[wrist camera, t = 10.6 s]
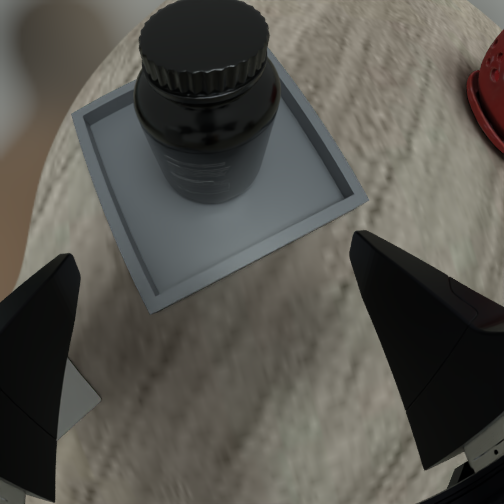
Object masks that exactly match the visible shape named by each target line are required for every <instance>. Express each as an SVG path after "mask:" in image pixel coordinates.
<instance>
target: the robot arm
mask: <svg viewBox="0 0 504 504" xmlns="http://www.w3.org/2000/svg"><path fill="white" fill-rule="evenodd" d="M349 257H350V261H351V264H352V267H353V270H354V274H355V277H356V280H357V283H358V286H359V290H360V293H361V296H362V299H363V301H364V304H365V306H366V308H367V311H368V313H369V315H370V318H371V320H372V323H373V325H374V328H375V330H376V332H377V335H378V337H379V340H380V342H381V345H382V348H383V350H384V353H385V355H386V358H387V360H388V363H389V366H390V368H391V371H392V374H393V377H394V379H395V382H396V385H397V388H398V390H399V393H400V396H401V399H402V402H403V405H404V408H405V410H406V414H407V417H408V420H409V423H410V426H411V429H412V432H413V436H414V439H415V442H416V445H417V449H418V452H419V455H420V459H421V462H422V465H423V468H424V470H428V469H430V468H432V467H434V466H436V465H438V464H440V463H443V462H445V461H447V460H449V459H451V458H453V457H455V456H456V455H458V454H460V453H462V452H465V455H466V457H467V460H468V461H467V462H465V463H464V464H462V465H460V466H459V467H457V468H456V469H455V470H454V472H453V475H452V477H451V480H450V482H449V485H448V487H447V489H446V490H444V491H442V492H440V493H438V494H436V495H434V496H432V497H430V498H428V499H426V500H423V501H421V502H419V503H417V504H504V307H503V306H501V305H499V304H497V303H496V302H494V301H492V300H490V299H488V298H486V297H485V296H483V295H481V294H479V293H477V292H475V291H474V290H472V289H470V288H468V287H467V286H465V285H463V284H461V283H460V282H458V281H456V280H455V279H453V278H451V277H448V275H446V274H445V273H443V272H441V271H439V270H438V269H436V268H434V267H433V266H431V265H429V264H427V263H426V262H424V261H422V260H420V259H419V258H417V257H415V256H413V255H411V254H410V253H408V252H406V251H404V250H402V249H401V248H399V247H397V246H395V245H393V244H391V243H390V242H388V241H386V240H384V239H382V238H380V237H378V236H377V235H375V234H373V233H371V232H369V231H367V230H361V231H355V232H354V234H353V237H352V242H351V247H350V252H349ZM80 280H81V277H80V272H79V270H78V267H77V265H76V262H75V259H74V257H73V255H72V254H70V253H66V254H60V255H58V256H57V257H56V258H54V259H53V260H52V261H50V262H49V263H48V264H46V265H45V266H44V267H43V268H41V269H40V270H39V271H37V272H36V273H35V274H34V275H32V276H31V277H30V278H29V279H28V280H26V281H25V282H24V283H23V284H21V285H20V286H19V287H18V288H17V289H15V290H14V291H13V292H12V293H11V294H10V295H8V296H7V297H6V298H5V299H4V300H3V301H1V302H0V504H25V498H26V495H29V496H33V497H36V498H39V499H43V500H46V501H50V502H54V503H55V472H56V448H57V432H58V421H59V411H60V403H61V395H62V388H63V381H64V374H65V368H66V362H67V357H68V351H69V346H70V341H71V336H72V332H73V327H74V322H75V316H76V309H77V301H78V294H79V287H80Z"/></svg>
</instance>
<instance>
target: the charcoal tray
mask: <svg viewBox="0 0 504 504" xmlns="http://www.w3.org/2000/svg"><path fill="white" fill-rule="evenodd" d="M267 56H268V57H269V59H270V60H271V61H272V63H273V64H274V66H275V68H276V70H277V72H278V75H279V78H280V83H281V98H280V103H279V107H278V111H277V114H276V118H275V121H274V124H273V128H272V131H271V134H270V138H269V141H268V145H267V148H266V151H265V155H264V158H263V161H262V164H261V167H260V170H259V173H258V175H257V177H256V178H255V180H254V181H253V183H252V184H251V185H250V186H249V187H248V188H247V189H246V190H245V191H244V192H242V193H241V194H239V195H238V196H236V197H234V198H232V199H229V200H226V201H223V202H217V203H202V202H197V201H193V200H190V199H188V198H186V197H184V196H182V195H181V194H179V193H178V192H177V191H175V190H174V189H173V188H172V187H171V185H170V184H169V183H168V181H167V180H166V178H165V176H164V174H163V173H162V170H161V168H160V166H159V164H158V162H157V160H156V158H155V156H154V154H153V151H152V149H151V147H150V145H149V143H148V141H147V139H146V136H145V134H144V132H143V130H142V128H141V125H140V123H139V120H138V118H137V116H136V112H135V109H134V104H133V92H134V86H135V82H136V80H137V79H136V80H134V81H132V82H130V83H128V84H126V85H124V86H122V87H120V88H118V89H116V90H114V91H112V92H110V93H108V94H106V95H104V96H102V97H100V98H98V99H97V100H95V101H93V102H91V103H89V104H88V105H86V106H84V107H82V108H81V109H79V110H77V111H75V112H74V113H72V114H71V115H72V118H73V122H74V125H75V129H76V132H77V136H78V139H79V142H80V145H81V148H82V152H83V155H84V158H85V161H86V164H87V167H88V170H89V173H90V175H91V178H92V181H93V184H94V187H95V190H96V192H97V195H98V198H99V200H100V203H101V206H102V208H103V211H104V213H105V216H106V218H107V221H108V223H109V226H110V228H111V231H112V233H113V236H114V238H115V240H116V243H117V245H118V247H119V250H120V252H121V254H122V257H123V259H124V261H125V263H126V266H127V268H128V270H129V272H130V274H131V277H132V279H133V281H134V283H135V285H136V287H137V289H138V291H139V294H140V296H141V298H142V300H143V302H144V304H145V306H146V308H147V310H148V312H149V314H153V313H156V312H159V311H161V310H163V309H164V308H166V307H168V306H170V305H172V304H174V303H176V302H178V301H180V300H182V299H184V298H186V297H188V296H190V295H192V294H194V293H196V292H198V291H200V290H201V289H203V288H205V287H207V286H209V285H211V284H213V283H215V282H217V281H219V280H221V279H223V278H225V277H227V276H229V275H230V274H232V273H234V272H236V271H238V270H240V269H242V268H244V267H246V266H248V265H250V264H252V263H254V262H255V261H257V260H259V259H261V258H263V257H265V256H267V255H269V254H271V253H273V252H275V251H276V250H278V249H280V248H282V247H284V246H286V245H288V244H290V243H292V242H294V241H296V240H297V239H299V238H301V237H303V236H305V235H307V234H309V233H311V232H313V231H314V230H316V229H318V228H320V227H322V226H324V225H326V224H328V223H330V222H332V221H333V220H335V219H337V218H339V217H341V216H343V215H345V214H347V213H348V212H350V211H352V210H354V209H356V208H358V207H359V206H361V205H362V204H364V203H366V202H367V201H369V199H368V197H367V195H366V193H365V192H364V190H363V188H362V186H361V184H360V183H359V181H358V179H357V177H356V176H355V174H354V172H353V171H352V169H351V167H350V166H349V164H348V162H347V161H346V159H345V157H344V156H343V154H342V152H341V151H340V149H339V147H338V146H337V144H336V143H335V141H334V140H333V138H332V136H331V135H330V133H329V132H328V130H327V129H326V127H325V126H324V124H323V123H322V121H321V120H320V118H319V117H318V115H317V114H316V112H315V111H314V109H313V108H312V106H311V105H310V103H309V102H308V100H307V99H306V98H305V96H304V95H303V93H302V92H301V91H300V89H299V88H298V86H297V85H296V84H295V82H294V81H293V80H292V78H291V77H290V76H289V74H288V73H287V72H286V70H285V69H284V68H283V66H282V65H281V64H280V62H279V61H278V60H277V58H276V57H275V56H274V55H273V53H272V52H271V51H270V50H269V48H268V47H267Z"/></svg>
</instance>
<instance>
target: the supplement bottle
mask: <svg viewBox="0 0 504 504" xmlns="http://www.w3.org/2000/svg"><path fill="white" fill-rule="evenodd" d="M268 29H269V27H268V24H267V23H266V22H265V18H264V17H263V16H261V14H260V12H259V11H257V10H255V9H254V7H253V6H250V5H247V4H246V3H245V2H242V1H238V0H179V1H177V2H175V3H172V4H169V5H167V6H166V7H165V8H162V9H160V10H158V12H157V13H156V14H154V15H152V16H151V17H150V19H149V20H148V21H147V22H146V23H145V26H144V27H143V29H142V30H141V35H140V37H139V51H140V54H141V58H142V69H141V71H140V73H139V75H138V77H137V80H136V82H135V86H134V92H133V104H134V109H135V112H136V116H137V118H138V120H139V123H140V125H141V128H142V130H143V132H144V134H145V136H146V139H147V141H148V143H149V145H150V147H151V149H152V151H153V154H154V156H155V158H156V160H157V162H158V164H159V166H160V168H161V170H162V173H163V174H164V176H165V178H166V180H167V181H168V183H169V184H170V185H171V187H172V188H173V189H174V190H175V191H177V192H178V193H179V194H181V195H182V196H184V197H186V198H188V199H190V200H193V201H197V202H202V203H217V202H223V201H226V200H229V199H232V198H234V197H236V196H238V195H239V194H241V193H242V192H244V191H245V190H246V189H247V188H248V187H249V186H250V185H251V184H252V183H253V181H254V180H255V178H256V177H257V175H258V173H259V170H260V167H261V164H262V161H263V158H264V155H265V151H266V148H267V145H268V141H269V138H270V134H271V131H272V128H273V124H274V121H275V118H276V114H277V111H278V107H279V103H280V98H281V83H280V78H279V75H278V72H277V70H276V68H275V66H274V64H273V63H272V61H271V60H270V59H269V57H268V56H267V47H268V42H269V36H270V35H269V31H268Z"/></svg>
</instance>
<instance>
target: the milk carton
mask: <svg viewBox="0 0 504 504" xmlns="http://www.w3.org/2000/svg"><path fill="white" fill-rule="evenodd" d="M100 401H101V398H100V397H99V395H98V394H97V393H96V392H95V391H94V390H93V388H92V387H91V386H90V385H89V384H88V383H87V381H86V380H85V379H84V378H83V377H82V375H81V374H80V373H79V372H78V370H77V369H76V368H75V367H74V365H73V364H72V363H71V362H70V360H69V359H68V358H67V362H66V368H65V374H64V381H63V388H62V395H61V403H60V411H59V421H58V432H57V440H58V439H60V438H61V437H62V436H63V435H64V434H65V433H66V432H67V431H68V430H70V429H71V428H72V427H73V426H74V425H75V424H76V423H77V422H78V421H80V420H81V419H82V418H83V417H84V416H85V415H86V414H87V413H88V412H90V411H91V410H92V409H93V408H94V407H95V406H96V405H97V404H98V403H99V402H100Z"/></svg>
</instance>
